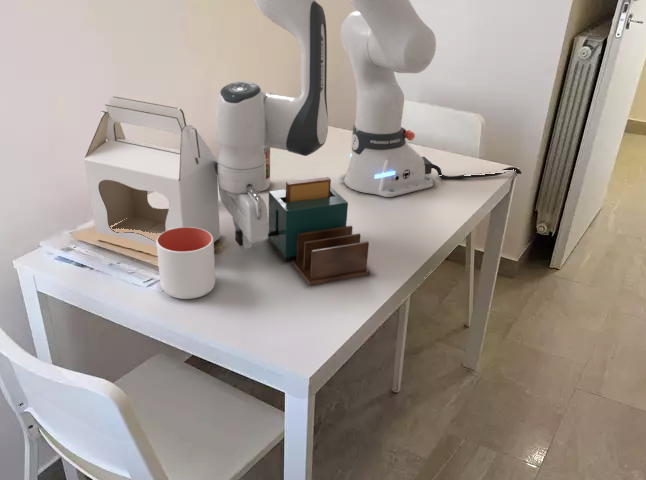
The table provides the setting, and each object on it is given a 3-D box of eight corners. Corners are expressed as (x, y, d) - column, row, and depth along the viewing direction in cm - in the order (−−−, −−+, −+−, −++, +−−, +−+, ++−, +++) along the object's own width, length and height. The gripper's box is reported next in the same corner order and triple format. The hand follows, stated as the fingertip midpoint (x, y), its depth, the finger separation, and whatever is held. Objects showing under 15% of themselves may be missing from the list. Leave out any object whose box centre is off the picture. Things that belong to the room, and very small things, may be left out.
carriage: (239, 246, 130) (239, 237, 129) (235, 240, 132) (235, 231, 131) (331, 232, 137) (331, 223, 136) (325, 226, 139) (326, 218, 138)
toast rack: (350, 254, 136) (352, 223, 132) (370, 274, 129) (373, 243, 125) (292, 263, 132) (293, 232, 128) (309, 285, 125) (310, 253, 121)
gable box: (95, 240, 137) (73, 102, 121) (134, 216, 147) (118, 85, 131) (187, 265, 130) (176, 121, 114) (221, 238, 140) (215, 102, 124)
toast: (325, 222, 137) (328, 176, 132) (328, 225, 136) (331, 179, 131) (284, 228, 134) (285, 181, 129) (287, 231, 133) (288, 184, 128)
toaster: (285, 262, 132) (286, 211, 126) (267, 238, 140) (267, 189, 134) (344, 252, 136) (348, 202, 130) (323, 230, 144) (326, 182, 138)
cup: (163, 274, 126) (159, 226, 121) (216, 274, 127) (214, 226, 121) (158, 302, 118) (152, 252, 113) (214, 301, 119) (212, 252, 113)
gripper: (277, 195, 117) (276, 263, 125) (242, 155, 132) (243, 218, 140) (242, 199, 115) (244, 269, 123) (211, 158, 130) (214, 222, 138)
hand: (243, 241), depth 132 cm, fingers closed on carriage, 3 cm apart
